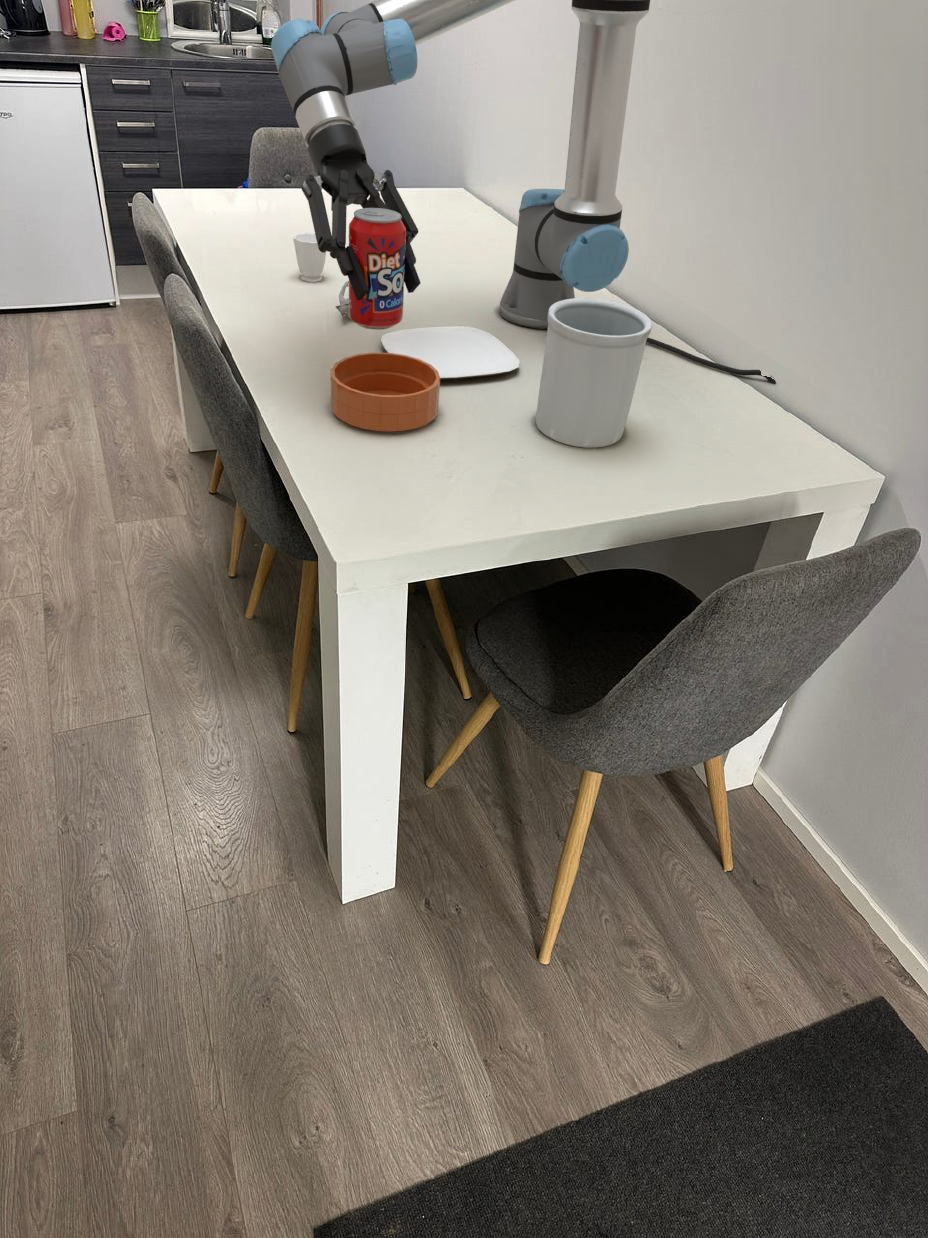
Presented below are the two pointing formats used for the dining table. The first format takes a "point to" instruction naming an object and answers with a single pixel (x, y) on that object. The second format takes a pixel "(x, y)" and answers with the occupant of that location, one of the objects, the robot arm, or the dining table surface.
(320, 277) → the cup
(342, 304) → the soldier figure
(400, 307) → the soda can
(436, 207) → the dining table surface
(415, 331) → the plate
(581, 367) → the utensil holder
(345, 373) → the bowl
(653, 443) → the dining table surface
